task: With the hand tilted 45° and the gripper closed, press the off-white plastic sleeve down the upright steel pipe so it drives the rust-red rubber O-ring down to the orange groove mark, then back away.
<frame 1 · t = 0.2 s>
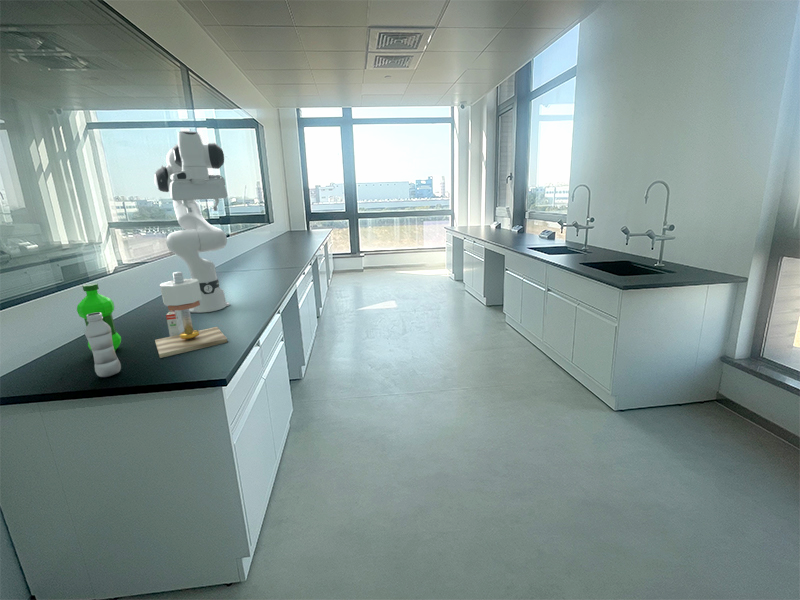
hand: (202, 211, 156), 47 cm above the countertop, tool pointing down, fingers open, 8 cm apart
oak base board: (191, 342, 148), on the countertop
ink box: (177, 335, 157), on the countertop
sleeve: (181, 291, 142), point 20 cm above the countertop, slide at 10.5 cm
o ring: (183, 304, 144), point 15 cm above the countertop, slide at 10.0 cm
plastic bottle: (110, 375, 123), on the countertop
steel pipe: (184, 306, 144), on the oak base board, point 14 cm above the countertop
plastic bottle 2: (107, 352, 143), on the countertop
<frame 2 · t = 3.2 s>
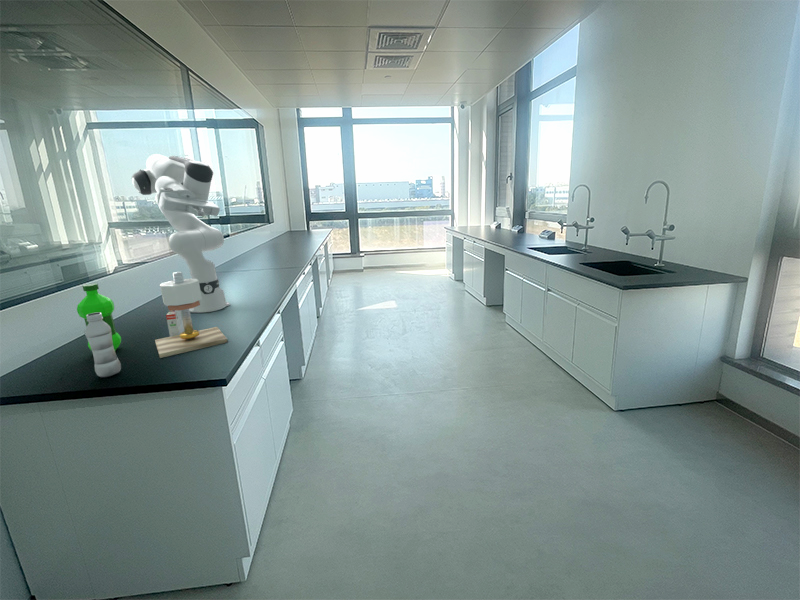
hand: (200, 214, 142), 47 cm above the countertop, tool tilted 65°, fingers closed
nothing on the countertop moved.
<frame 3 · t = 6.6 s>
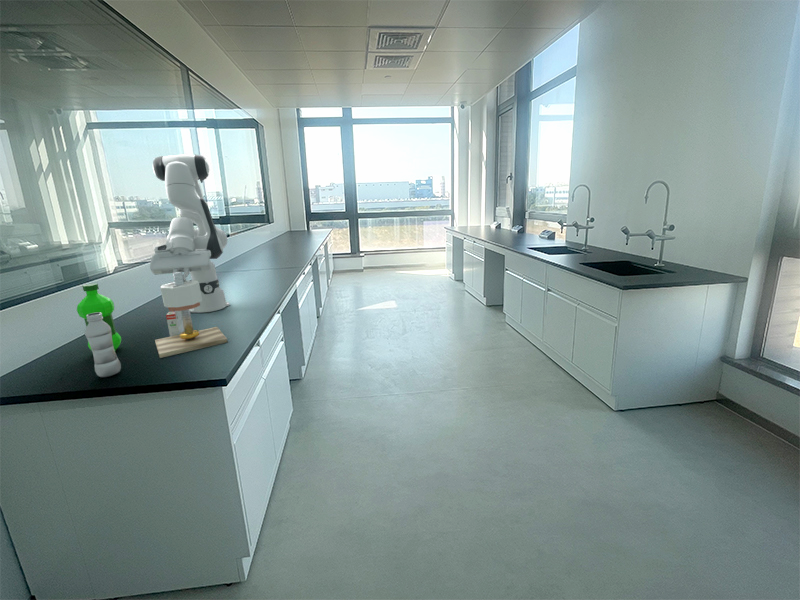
hand: (181, 280, 145), 23 cm above the countertop, tool tilted 45°, fingers closed
sleeve: (181, 293, 143), point 19 cm above the countertop, slide at 9.8 cm, touching gripper, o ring
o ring: (183, 304, 144), point 15 cm above the countertop, slide at 9.8 cm, touching sleeve
everything else where it was.
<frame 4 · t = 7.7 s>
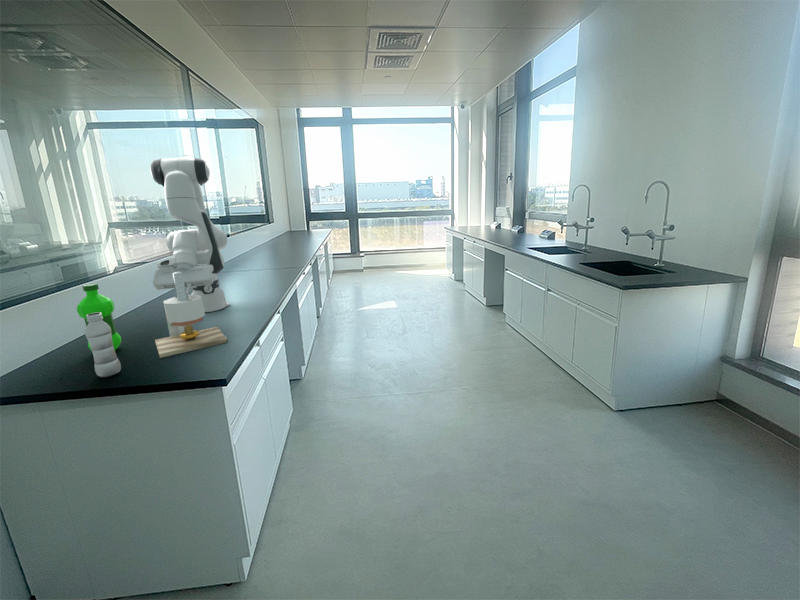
hand: (183, 295, 146), 18 cm above the countertop, tool tilted 45°, fingers closed
sleeve: (184, 308, 144), point 14 cm above the countertop, slide at 4.2 cm, touching gripper, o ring
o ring: (186, 319, 145), point 9 cm above the countertop, slide at 4.2 cm, touching sleeve
everything else where it was.
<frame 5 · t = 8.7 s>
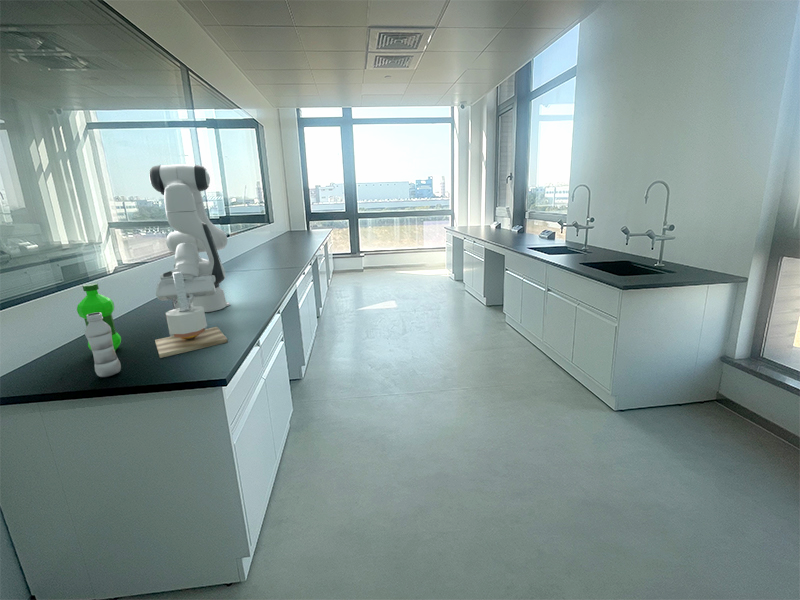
hand: (186, 306, 148), 13 cm above the countertop, tool tilted 45°, fingers closed, pressing on sleeve
sleeve: (186, 319, 145), point 9 cm above the countertop, slide at -0.2 cm, touching gripper, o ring
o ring: (188, 330, 146), point 5 cm above the countertop, slide at -0.2 cm, touching sleeve
everything else where it was.
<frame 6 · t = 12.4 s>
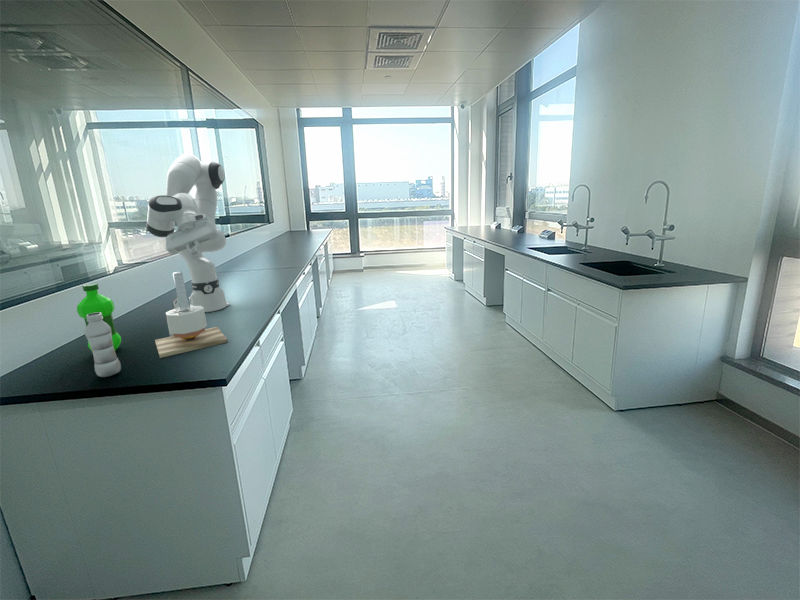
hand: (194, 252, 153), 32 cm above the countertop, tool tilted 45°, fingers closed
sleeve: (186, 319, 145), point 9 cm above the countertop, slide at -0.1 cm
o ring: (188, 330, 146), point 5 cm above the countertop, slide at -0.2 cm
everything else where it was.
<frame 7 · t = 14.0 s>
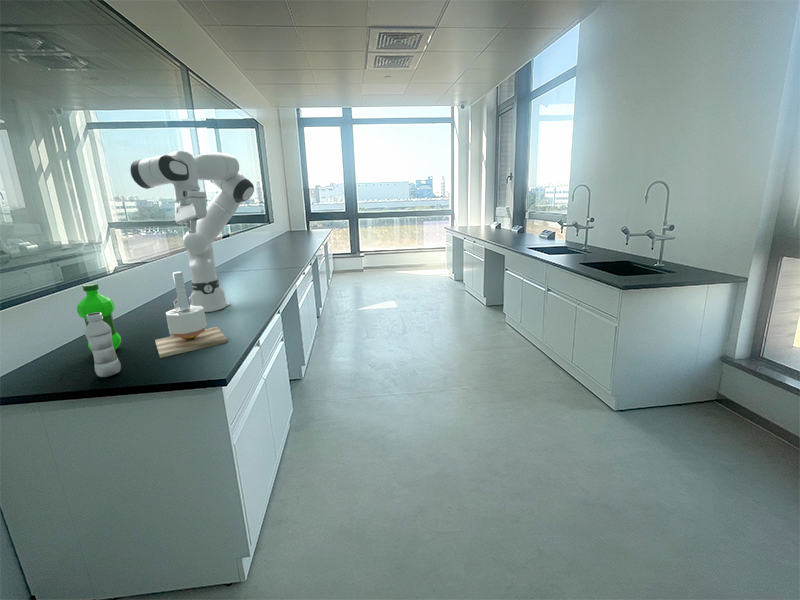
hand: (192, 233, 150), 40 cm above the countertop, tool pointing down, fingers closed
nothing on the countertop moved.
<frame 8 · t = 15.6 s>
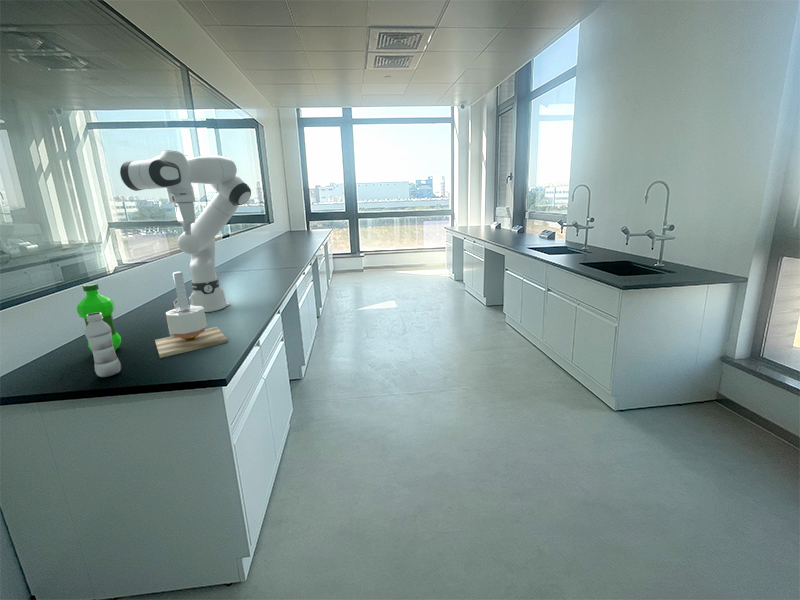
hand: (188, 235, 149), 39 cm above the countertop, tool pointing down, fingers closed
nothing on the countertop moved.
at the end: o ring slide at -0.2 cm; sleeve slide at -0.1 cm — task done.
